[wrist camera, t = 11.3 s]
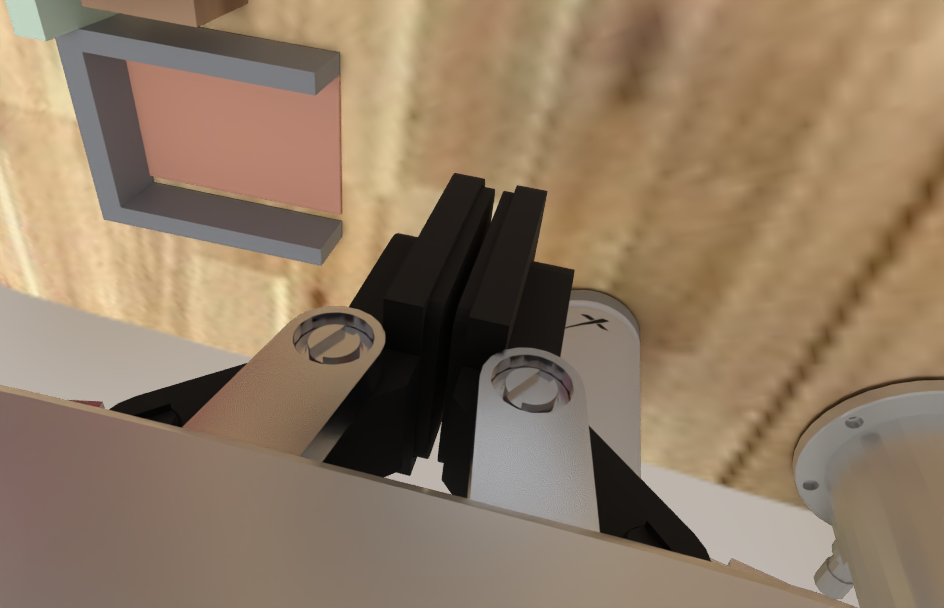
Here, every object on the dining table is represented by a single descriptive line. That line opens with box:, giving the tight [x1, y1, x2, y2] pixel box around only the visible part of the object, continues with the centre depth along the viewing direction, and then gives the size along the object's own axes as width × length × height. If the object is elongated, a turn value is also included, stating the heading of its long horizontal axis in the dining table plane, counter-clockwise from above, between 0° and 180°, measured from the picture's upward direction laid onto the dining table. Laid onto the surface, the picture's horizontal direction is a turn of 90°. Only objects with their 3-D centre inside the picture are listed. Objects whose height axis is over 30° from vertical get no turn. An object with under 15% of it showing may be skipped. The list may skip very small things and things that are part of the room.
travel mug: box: [560, 290, 641, 478], centre depth 29 cm, size 6×7×20 cm
